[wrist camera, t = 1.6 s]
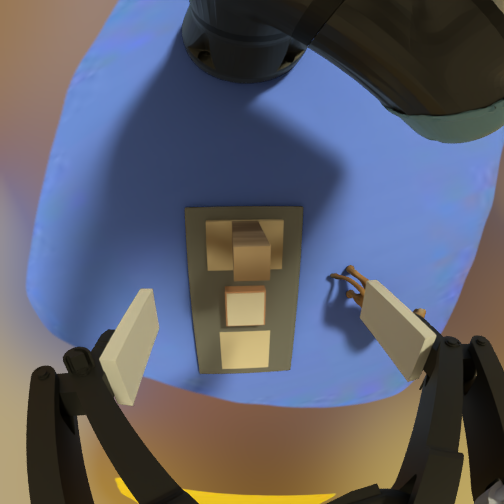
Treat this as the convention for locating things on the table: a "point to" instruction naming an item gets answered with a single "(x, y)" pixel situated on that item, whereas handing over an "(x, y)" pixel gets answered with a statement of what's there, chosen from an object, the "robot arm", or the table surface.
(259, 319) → the cream square tile
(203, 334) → the taupe mat
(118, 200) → the table surface
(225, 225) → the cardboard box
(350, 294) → the lion figurine
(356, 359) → the table surface
